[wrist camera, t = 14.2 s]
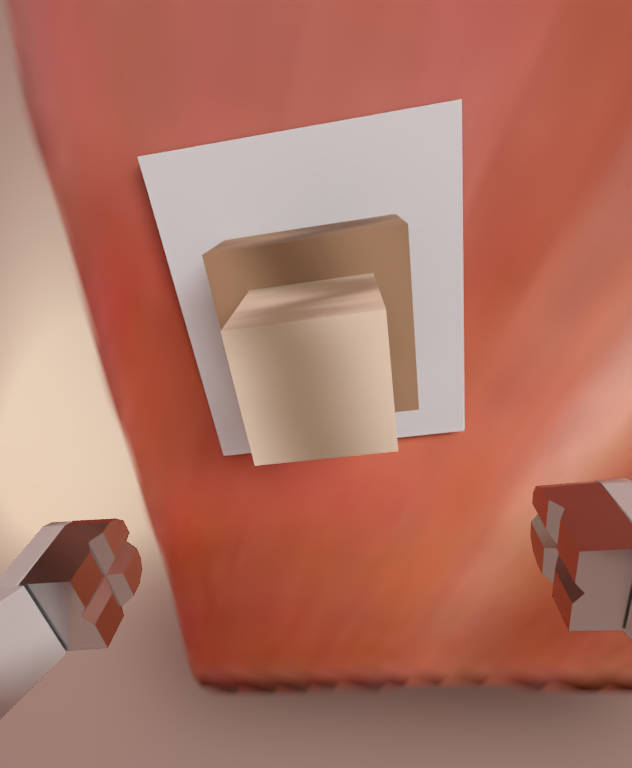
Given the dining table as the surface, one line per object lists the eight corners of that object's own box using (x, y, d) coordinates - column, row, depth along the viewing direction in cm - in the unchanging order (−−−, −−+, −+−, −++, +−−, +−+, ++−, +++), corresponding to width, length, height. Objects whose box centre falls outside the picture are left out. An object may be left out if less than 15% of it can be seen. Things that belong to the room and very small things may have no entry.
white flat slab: (458, 101, 19) (461, 99, 18) (461, 425, 26) (464, 430, 25) (142, 157, 20) (137, 156, 20) (225, 450, 27) (223, 455, 26)
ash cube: (373, 272, 18) (385, 308, 13) (383, 386, 20) (398, 451, 15) (249, 290, 18) (220, 331, 14) (272, 399, 20) (254, 465, 16)
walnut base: (395, 213, 20) (407, 223, 17) (406, 372, 24) (418, 409, 20) (224, 239, 21) (201, 254, 17) (259, 390, 24) (246, 428, 21)
